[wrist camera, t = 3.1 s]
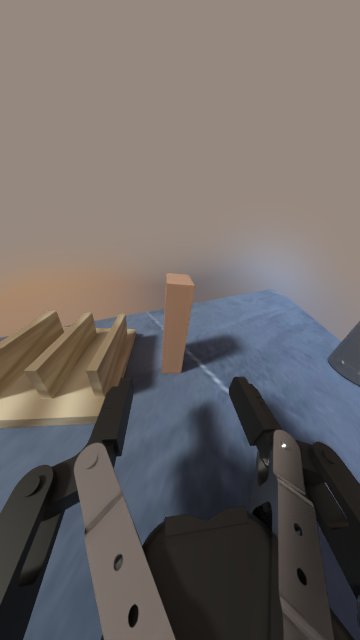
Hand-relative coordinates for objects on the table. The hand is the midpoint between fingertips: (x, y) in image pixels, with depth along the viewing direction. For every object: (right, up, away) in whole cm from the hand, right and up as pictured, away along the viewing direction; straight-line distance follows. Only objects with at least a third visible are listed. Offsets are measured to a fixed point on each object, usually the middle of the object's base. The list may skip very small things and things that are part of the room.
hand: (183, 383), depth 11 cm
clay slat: (-2, -2, +13) cm, 13 cm away
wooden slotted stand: (-16, -2, +10) cm, 19 cm away
